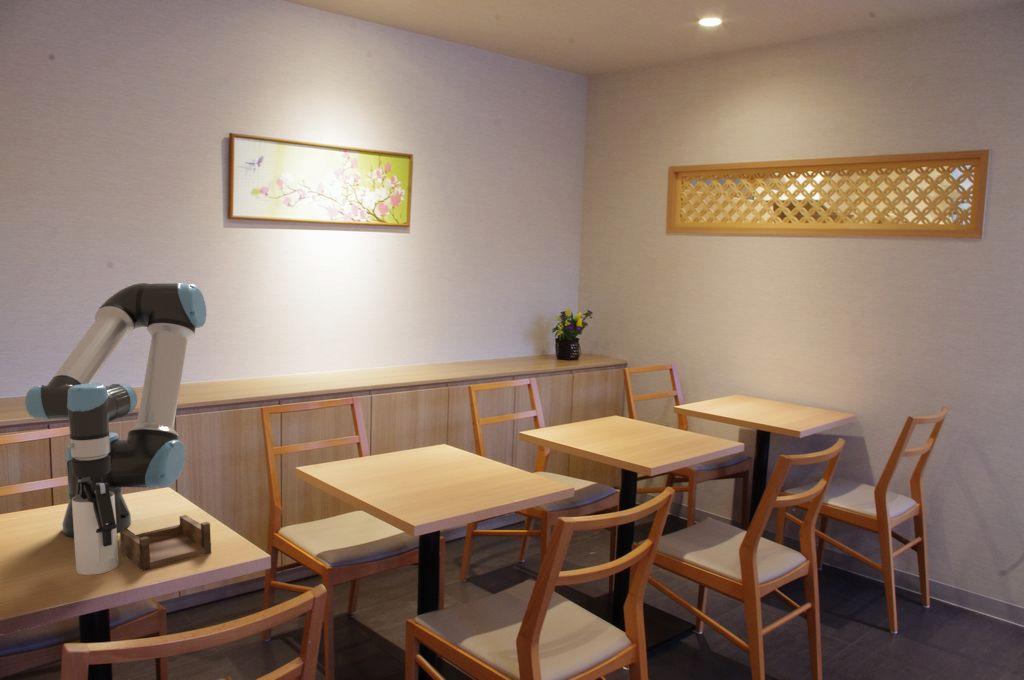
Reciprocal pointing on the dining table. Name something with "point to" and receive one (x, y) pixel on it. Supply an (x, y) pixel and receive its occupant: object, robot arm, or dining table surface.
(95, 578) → the dining table surface
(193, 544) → the tray
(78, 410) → the robot arm
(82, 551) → the cup
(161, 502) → the dining table surface
